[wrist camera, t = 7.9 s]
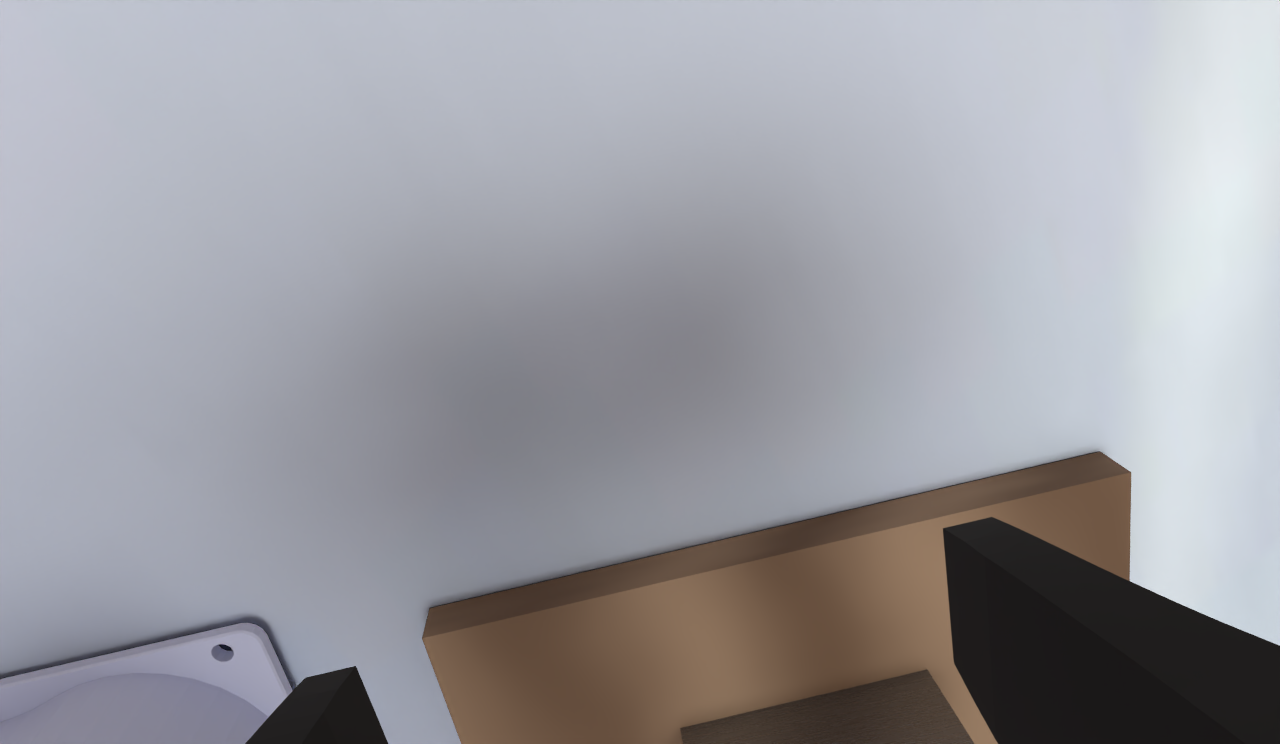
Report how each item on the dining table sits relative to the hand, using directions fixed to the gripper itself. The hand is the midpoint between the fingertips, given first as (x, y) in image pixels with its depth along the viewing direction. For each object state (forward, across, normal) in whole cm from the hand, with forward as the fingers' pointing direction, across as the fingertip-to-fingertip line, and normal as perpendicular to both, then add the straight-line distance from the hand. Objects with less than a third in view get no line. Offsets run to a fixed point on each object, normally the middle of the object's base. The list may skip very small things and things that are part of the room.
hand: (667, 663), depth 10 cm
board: (+10, -3, +13) cm, 17 cm away
